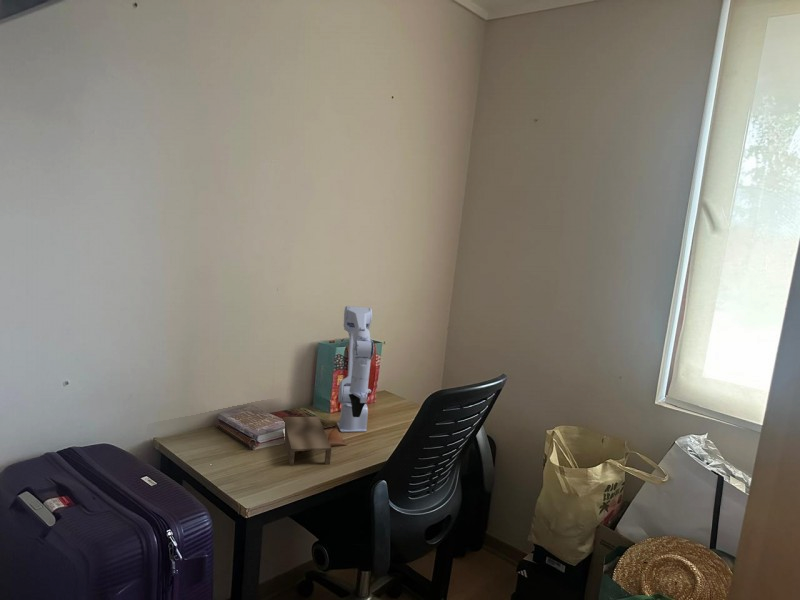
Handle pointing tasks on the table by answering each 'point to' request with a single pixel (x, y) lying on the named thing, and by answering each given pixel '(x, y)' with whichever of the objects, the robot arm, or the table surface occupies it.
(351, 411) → the robot arm
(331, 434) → the sunglasses case
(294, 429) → the miniature wooden table
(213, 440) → the table surface
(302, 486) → the table surface
